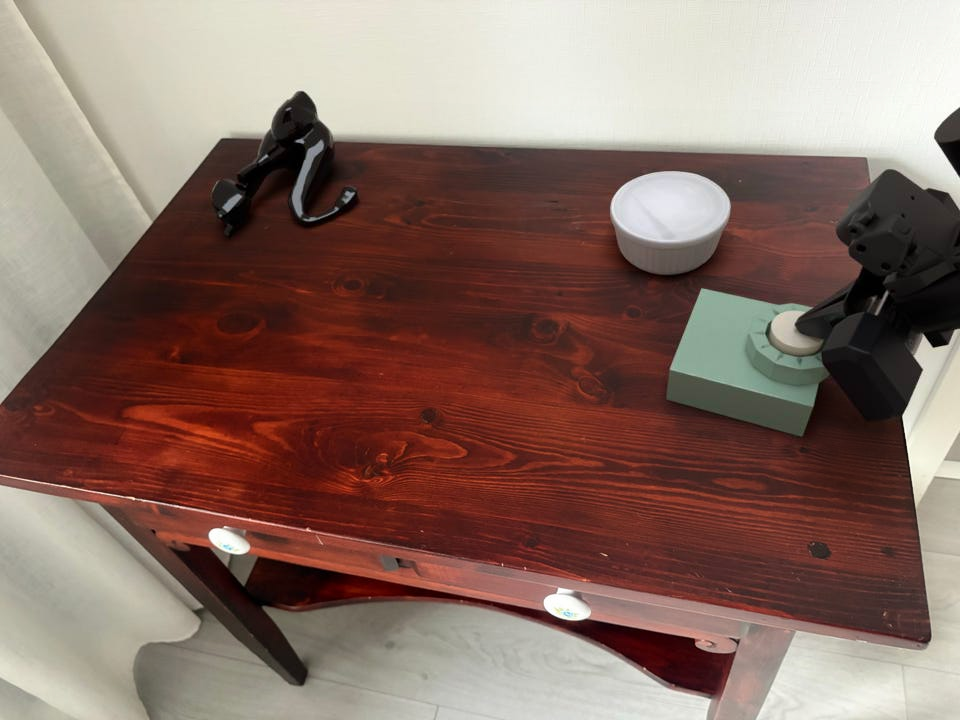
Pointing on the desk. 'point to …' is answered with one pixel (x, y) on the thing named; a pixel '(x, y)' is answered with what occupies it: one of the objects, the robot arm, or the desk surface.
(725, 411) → the button base
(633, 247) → the ramekin
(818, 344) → the cream cylindrical button
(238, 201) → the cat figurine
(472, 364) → the desk surface
